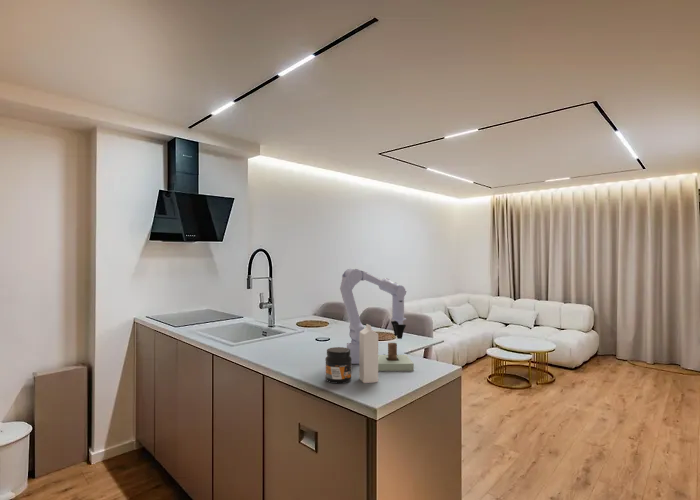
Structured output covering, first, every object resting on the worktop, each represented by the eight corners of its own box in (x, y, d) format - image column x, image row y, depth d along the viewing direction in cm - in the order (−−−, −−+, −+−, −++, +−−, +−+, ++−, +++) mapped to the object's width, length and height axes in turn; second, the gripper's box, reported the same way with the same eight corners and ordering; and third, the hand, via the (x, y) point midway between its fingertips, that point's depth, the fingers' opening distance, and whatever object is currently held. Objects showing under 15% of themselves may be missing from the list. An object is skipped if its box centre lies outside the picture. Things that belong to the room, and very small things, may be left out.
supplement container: (334, 386, 140) (334, 354, 141) (320, 379, 149) (320, 348, 149) (356, 381, 147) (357, 350, 147) (341, 374, 155) (341, 345, 156)
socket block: (377, 370, 161) (377, 363, 161) (372, 361, 176) (373, 354, 177) (413, 370, 161) (413, 363, 161) (406, 361, 177) (406, 354, 177)
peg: (388, 366, 167) (388, 344, 167) (387, 364, 171) (387, 342, 171) (397, 366, 167) (397, 344, 167) (396, 364, 171) (396, 342, 171)
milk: (363, 383, 144) (363, 326, 144) (359, 378, 149) (359, 323, 150) (378, 382, 145) (378, 325, 146) (373, 377, 151) (373, 323, 152)
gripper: (409, 311, 176) (409, 340, 175) (403, 307, 190) (403, 334, 190) (394, 311, 176) (394, 340, 175) (389, 307, 190) (389, 334, 190)
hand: (398, 337), depth 183 cm, fingers open, 7 cm apart
